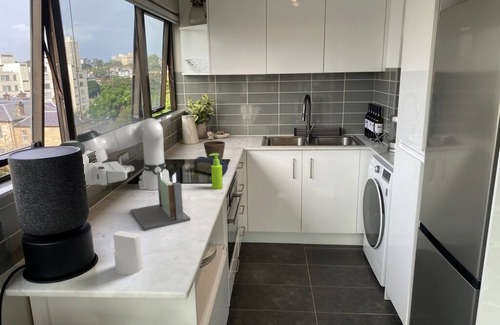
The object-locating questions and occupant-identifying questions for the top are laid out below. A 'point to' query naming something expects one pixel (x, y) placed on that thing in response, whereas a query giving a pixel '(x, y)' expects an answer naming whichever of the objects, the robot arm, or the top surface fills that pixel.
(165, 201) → the gate leaf
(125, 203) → the top surface
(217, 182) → the soap dispenser
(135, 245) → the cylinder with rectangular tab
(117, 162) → the robot arm
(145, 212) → the gate frame
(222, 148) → the plant pot
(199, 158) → the portable speaker
